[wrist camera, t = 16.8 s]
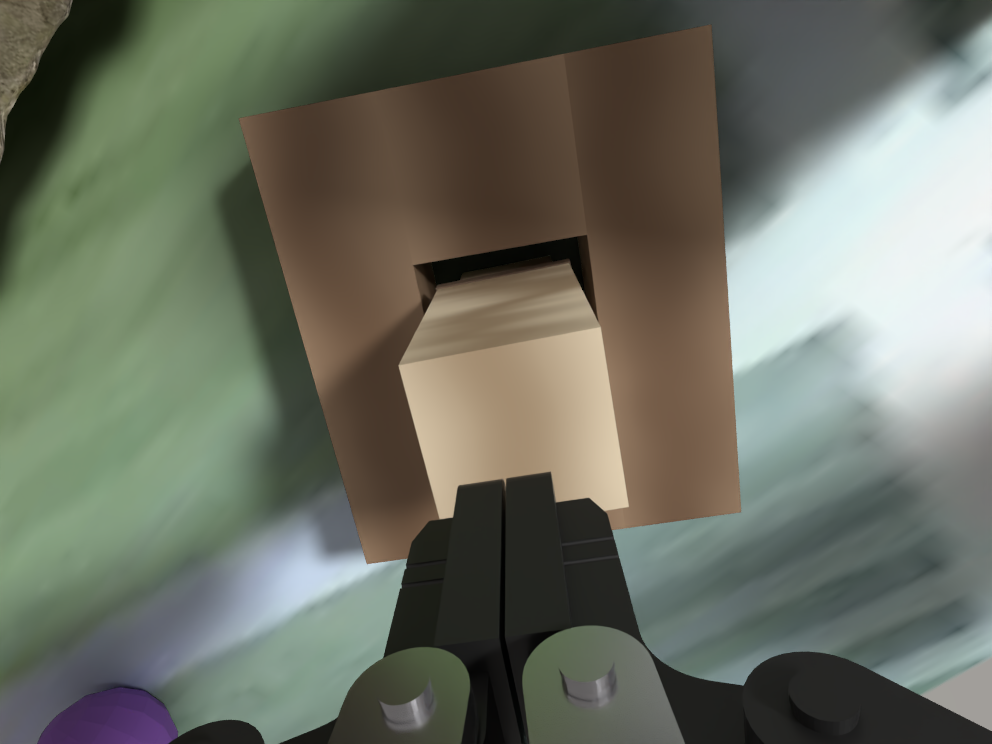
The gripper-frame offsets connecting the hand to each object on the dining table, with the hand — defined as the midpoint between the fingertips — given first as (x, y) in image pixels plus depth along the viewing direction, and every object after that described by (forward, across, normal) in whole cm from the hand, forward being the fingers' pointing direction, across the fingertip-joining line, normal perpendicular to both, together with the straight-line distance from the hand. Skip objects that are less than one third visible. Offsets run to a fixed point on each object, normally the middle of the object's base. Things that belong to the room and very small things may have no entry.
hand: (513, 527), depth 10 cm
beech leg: (+16, 0, 0) cm, 16 cm away
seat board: (+16, 0, 0) cm, 16 cm away
